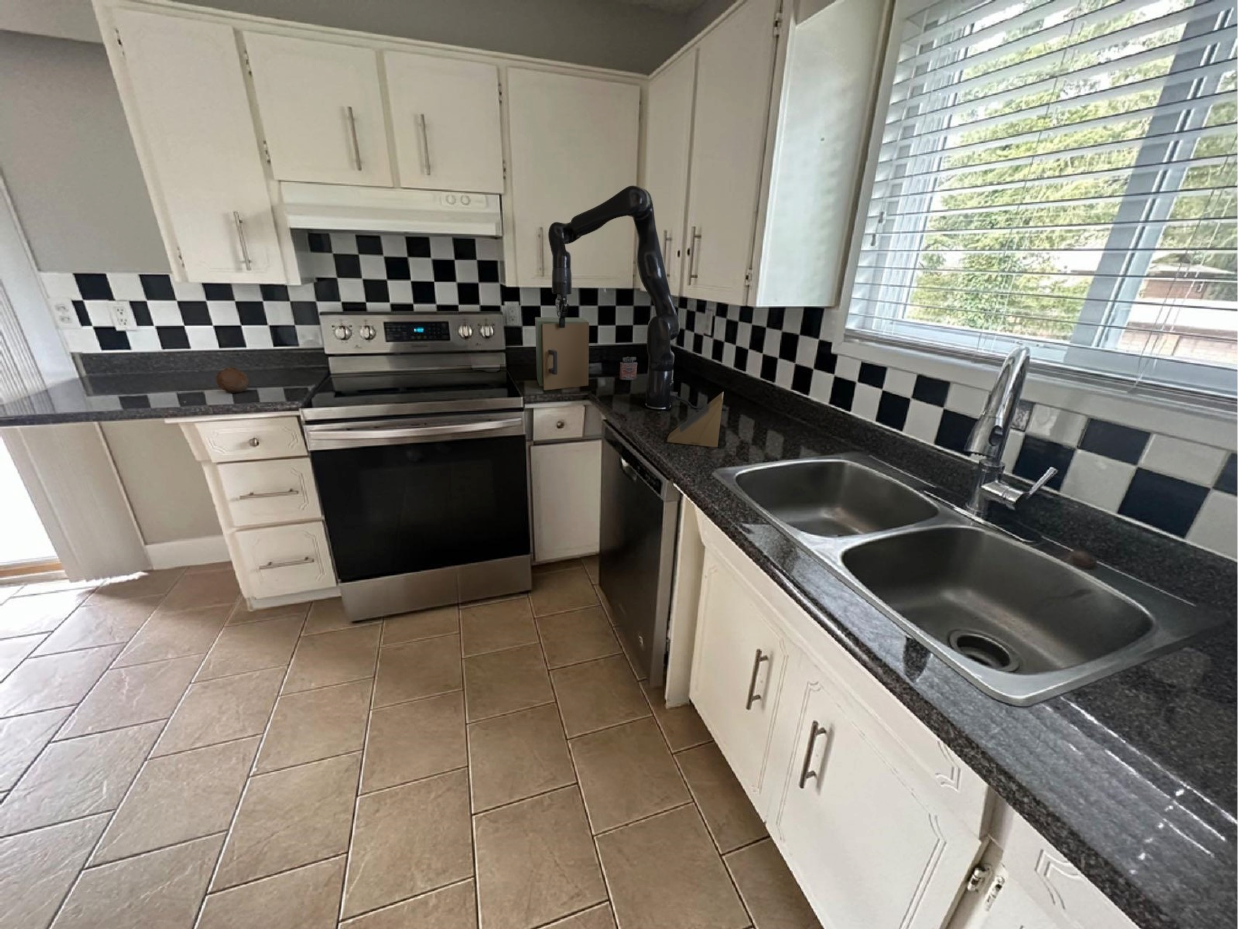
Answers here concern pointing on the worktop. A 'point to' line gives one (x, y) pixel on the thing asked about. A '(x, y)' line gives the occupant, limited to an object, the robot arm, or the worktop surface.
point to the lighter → (628, 369)
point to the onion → (232, 380)
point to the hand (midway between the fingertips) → (561, 327)
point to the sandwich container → (701, 426)
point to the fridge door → (565, 355)
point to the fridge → (538, 328)
